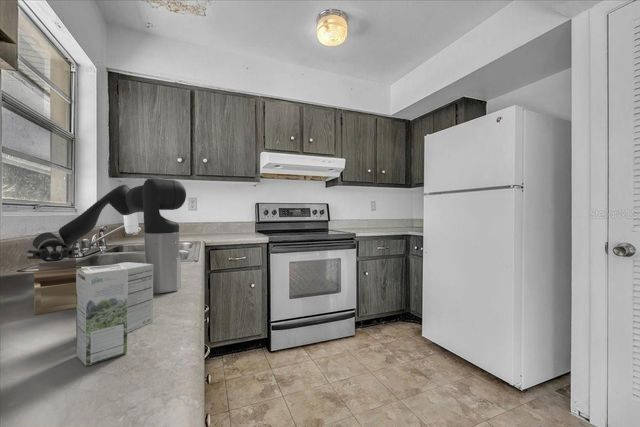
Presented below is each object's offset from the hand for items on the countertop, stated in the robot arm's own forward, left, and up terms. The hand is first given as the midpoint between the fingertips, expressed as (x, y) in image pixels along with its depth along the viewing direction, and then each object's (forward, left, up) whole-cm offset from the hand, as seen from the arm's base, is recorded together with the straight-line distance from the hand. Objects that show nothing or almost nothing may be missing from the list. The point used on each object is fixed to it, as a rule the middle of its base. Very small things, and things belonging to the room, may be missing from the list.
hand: (55, 256), depth 90 cm
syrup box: (-33, +51, -10) cm, 61 cm away
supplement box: (-32, +38, -10) cm, 50 cm away
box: (-10, +18, -10) cm, 23 cm away
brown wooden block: (-7, +11, -4) cm, 14 cm away
